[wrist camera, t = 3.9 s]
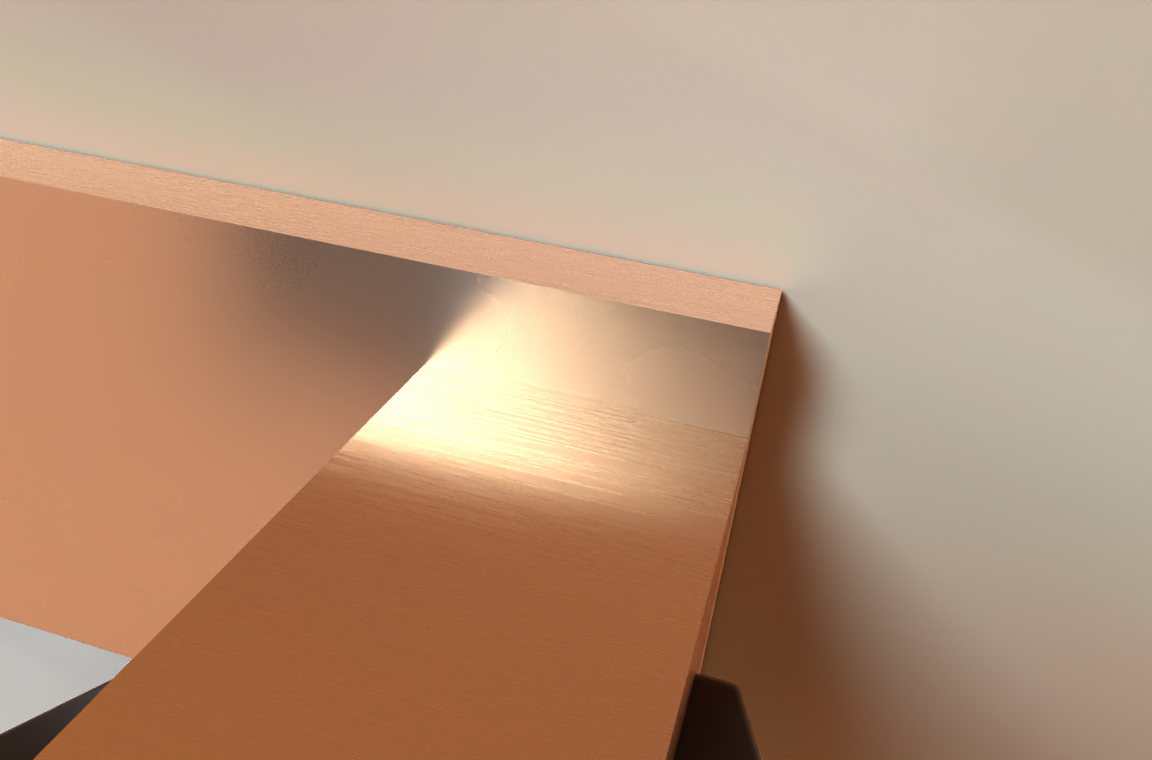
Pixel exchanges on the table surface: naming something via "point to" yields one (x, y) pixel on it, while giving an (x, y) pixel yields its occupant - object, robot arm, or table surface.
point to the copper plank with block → (359, 472)
